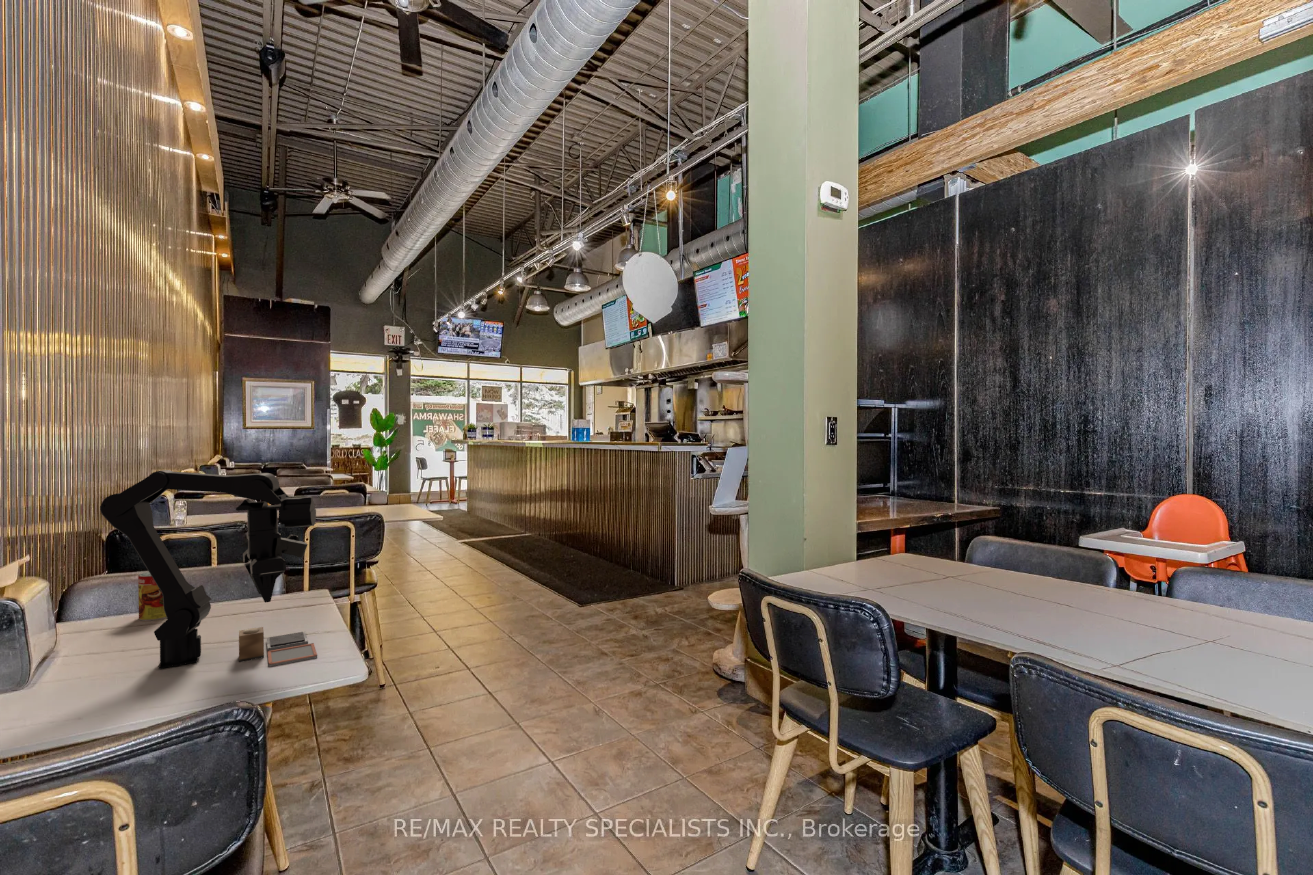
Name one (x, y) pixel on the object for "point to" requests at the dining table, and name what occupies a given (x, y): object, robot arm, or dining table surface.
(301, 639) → the pad
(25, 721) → the dining table surface
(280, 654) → the tile
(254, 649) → the stamp
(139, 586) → the canned food
